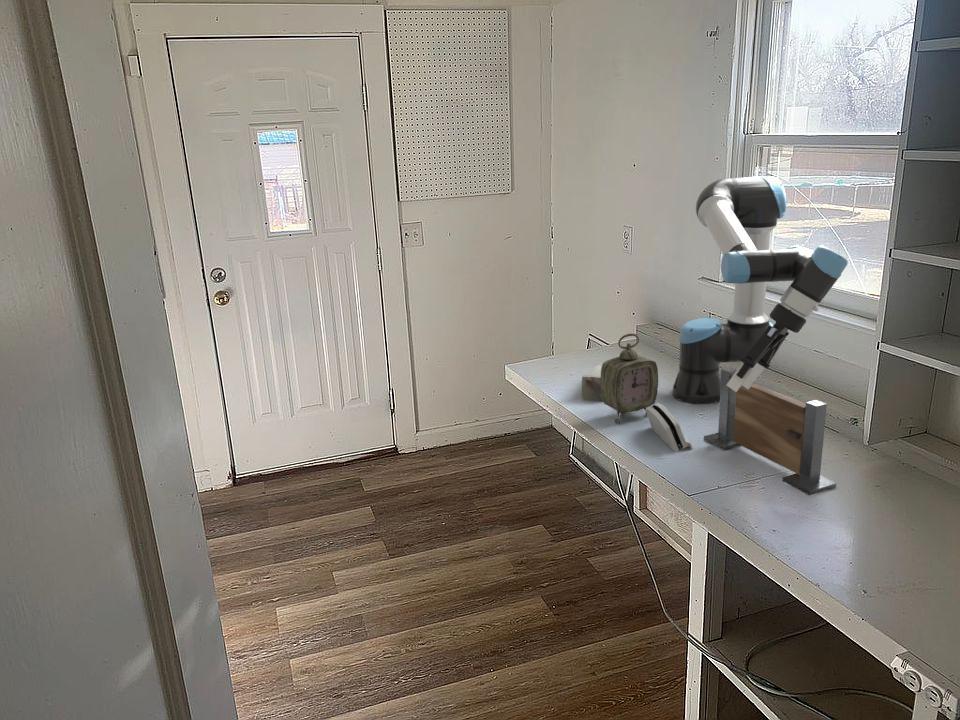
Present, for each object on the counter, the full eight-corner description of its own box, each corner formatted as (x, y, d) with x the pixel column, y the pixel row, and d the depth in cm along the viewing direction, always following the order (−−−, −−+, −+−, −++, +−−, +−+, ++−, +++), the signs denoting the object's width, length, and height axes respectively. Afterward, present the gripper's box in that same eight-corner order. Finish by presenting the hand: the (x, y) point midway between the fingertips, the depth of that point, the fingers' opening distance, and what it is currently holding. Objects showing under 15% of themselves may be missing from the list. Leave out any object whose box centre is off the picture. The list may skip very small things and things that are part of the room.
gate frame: (727, 433, 201) (731, 362, 195) (836, 487, 170) (844, 405, 164) (703, 439, 198) (706, 368, 192) (809, 495, 167) (817, 412, 161)
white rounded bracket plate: (693, 449, 192) (681, 417, 189) (676, 457, 192) (664, 424, 189) (668, 425, 208) (657, 394, 205) (652, 432, 208) (641, 402, 205)
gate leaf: (739, 440, 193) (743, 378, 188) (805, 472, 174) (811, 405, 169) (729, 442, 192) (733, 381, 186) (795, 475, 173) (800, 408, 168)
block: (596, 380, 247) (596, 358, 244) (620, 383, 244) (620, 359, 241) (581, 400, 230) (581, 376, 228) (607, 403, 227) (607, 378, 225)
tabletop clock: (615, 427, 209) (615, 341, 201) (597, 417, 216) (597, 334, 209) (657, 416, 214) (659, 333, 207) (638, 407, 222) (639, 326, 215)
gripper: (798, 317, 159) (739, 399, 166) (815, 321, 179) (762, 394, 186) (768, 298, 162) (711, 380, 169) (788, 304, 182) (736, 376, 189)
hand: (737, 387), depth 177 cm, fingers open, 12 cm apart
